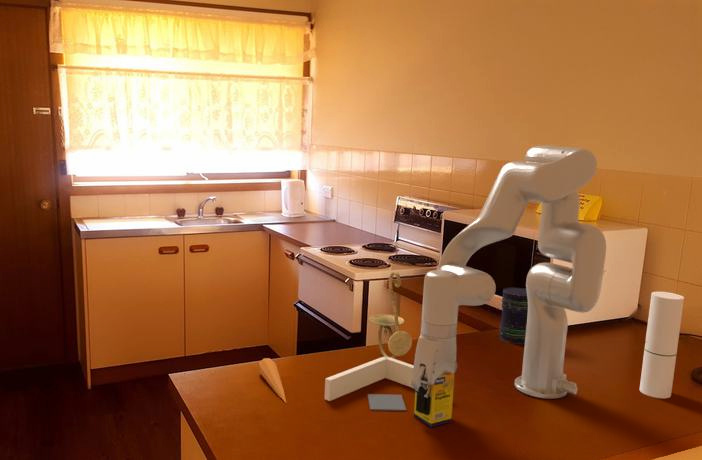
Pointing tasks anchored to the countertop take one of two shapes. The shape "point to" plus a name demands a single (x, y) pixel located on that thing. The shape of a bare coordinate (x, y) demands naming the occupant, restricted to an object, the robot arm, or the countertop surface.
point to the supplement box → (438, 401)
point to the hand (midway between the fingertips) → (433, 406)
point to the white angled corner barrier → (368, 376)
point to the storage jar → (514, 315)
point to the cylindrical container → (661, 344)
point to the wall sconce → (399, 340)
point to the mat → (386, 402)
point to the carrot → (272, 376)
